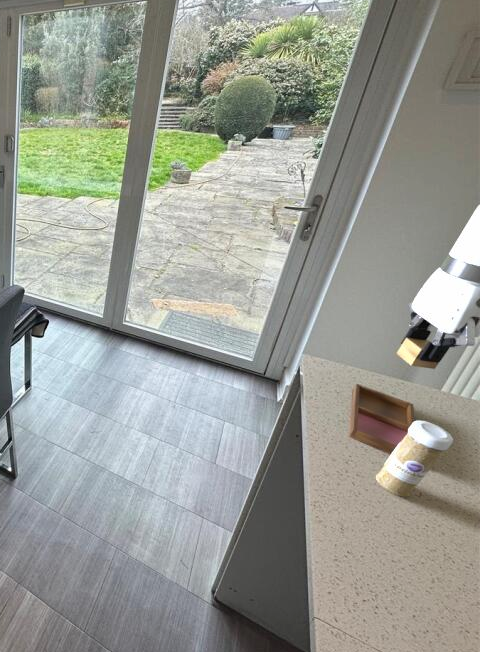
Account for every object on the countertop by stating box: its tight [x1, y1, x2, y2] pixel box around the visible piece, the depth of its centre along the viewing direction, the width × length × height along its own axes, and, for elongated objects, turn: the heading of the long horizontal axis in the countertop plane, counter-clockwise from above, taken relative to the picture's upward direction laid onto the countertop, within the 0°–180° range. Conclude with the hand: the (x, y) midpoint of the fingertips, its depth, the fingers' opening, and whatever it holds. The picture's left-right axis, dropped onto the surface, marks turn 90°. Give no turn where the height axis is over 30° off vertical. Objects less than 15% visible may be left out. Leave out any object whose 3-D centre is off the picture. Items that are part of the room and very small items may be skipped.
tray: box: [348, 383, 416, 455], centre depth 83 cm, size 9×18×2 cm, turn 138°
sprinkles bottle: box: [375, 420, 454, 498], centre depth 68 cm, size 5×5×14 cm
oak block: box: [396, 338, 439, 370], centre depth 80 cm, size 4×4×4 cm
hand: (419, 352), depth 80 cm, fingers closed on oak block, 3 cm apart
